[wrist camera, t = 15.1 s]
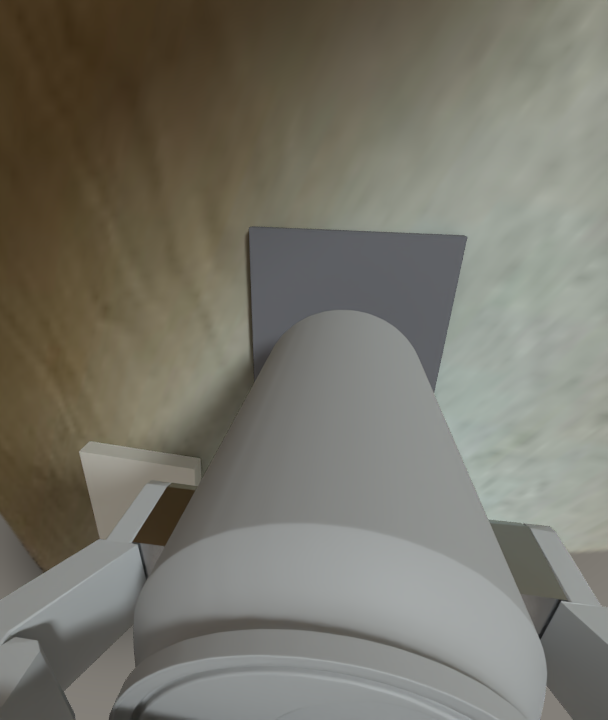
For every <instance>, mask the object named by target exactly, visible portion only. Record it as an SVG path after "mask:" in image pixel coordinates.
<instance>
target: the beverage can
mask: <svg viewBox="0 0 608 720" xmlns="http://www.w3.org/2000/svg"><path fill="white" fill-rule="evenodd" d="M133 635H134V636H133V638H134V655H135V669H134V670H133V671H132V672H131V673H130V674H129V676H128V677H127V679H126V681H125V682H124V684H123V686H122V689H121V691H120V693H119V695H118V697H117V699H116V701H115V703H114V706H113V708H112V710H111V713H110V716H109V720H540V718H541V714H542V709H543V704H544V698H545V692H546V683H547V667H546V659H545V654H544V650H543V647H542V644H541V641H540V639H539V636H538V634H537V632H536V629H535V627H534V625H533V622H532V620H531V618H530V615H529V613H528V611H527V608H526V606H525V604H524V601H523V599H522V597H521V594H520V592H519V590H518V587H517V585H516V583H515V580H514V578H513V576H512V574H511V571H510V569H509V567H508V564H507V562H506V560H505V557H504V555H503V553H502V550H501V548H500V546H499V543H498V541H497V539H496V536H495V534H494V532H493V529H492V527H491V525H490V522H489V520H488V518H487V515H486V513H485V511H484V508H483V506H482V504H481V502H480V499H479V497H478V495H477V492H476V490H475V488H474V485H473V483H472V481H471V478H470V476H469V474H468V471H467V469H466V467H465V464H464V462H463V460H462V457H461V455H460V453H459V450H458V448H457V446H456V443H455V441H454V439H453V436H452V434H451V432H450V430H449V427H448V425H447V423H446V420H445V418H444V416H443V413H442V411H441V409H440V406H439V404H438V402H437V399H436V397H435V395H434V392H433V390H432V388H431V385H430V383H429V381H428V378H427V376H426V374H425V371H424V369H423V367H422V365H421V362H420V360H419V358H418V355H417V353H416V351H415V349H414V348H413V346H412V345H411V343H410V342H409V341H408V340H407V338H406V337H405V336H404V335H403V334H402V333H401V332H400V331H399V330H398V329H397V328H395V327H394V326H393V325H391V324H389V323H388V322H386V321H385V320H383V319H381V318H378V317H376V316H373V315H371V314H368V313H364V312H360V311H354V310H332V311H325V312H321V313H318V314H314V315H311V316H309V317H307V318H305V319H303V320H301V321H299V322H298V323H296V324H295V325H293V326H292V327H291V328H290V329H289V330H287V331H286V332H285V333H284V334H283V335H282V336H281V338H280V339H279V340H278V341H277V343H276V344H275V346H274V347H273V349H272V351H271V353H270V355H269V357H268V358H267V360H266V362H265V364H264V366H263V368H262V369H261V371H260V373H259V375H258V377H257V379H256V380H255V382H254V384H253V386H252V388H251V390H250V391H249V393H248V395H247V397H246V399H245V401H244V402H243V404H242V406H241V408H240V410H239V412H238V413H237V415H236V417H235V419H234V421H233V423H232V424H231V426H230V428H229V430H228V432H227V434H226V435H225V437H224V439H223V441H222V443H221V445H220V446H219V448H218V450H217V452H216V454H215V456H214V457H213V459H212V461H211V463H210V465H209V467H208V468H207V470H206V472H205V474H204V476H203V478H202V479H201V481H200V483H199V485H198V487H197V489H196V490H195V492H194V494H193V496H192V498H191V500H190V501H189V503H188V505H187V507H186V509H185V511H184V512H183V514H182V516H181V518H180V520H179V522H178V523H177V525H176V527H175V529H174V531H173V533H172V534H171V536H170V538H169V540H168V542H167V544H166V545H165V547H164V549H163V551H162V553H161V555H160V556H159V558H158V560H157V562H156V564H155V566H154V567H153V569H152V571H151V573H150V575H149V577H148V578H147V580H146V582H145V584H144V586H143V588H142V589H141V591H140V594H139V597H138V599H137V602H136V607H135V612H134V628H133Z"/></svg>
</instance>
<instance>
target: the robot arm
mask: <svg viewBox="0 0 608 720" xmlns="http://www.w3.org/2000/svg"><path fill="white" fill-rule="evenodd" d="M197 487H198V486H193V485H186V484H179V483H169V482H162V481H155V480H151V481H150V482H148V483H147V484H146V485H145V486H144V487H143V489H142V490H141V491H140V493H139V494H138V496H137V497H136V498H135V500H134V501H133V502H132V504H131V505H130V507H129V508H128V509H127V511H126V512H125V514H124V515H123V516H122V518H121V519H120V521H119V522H118V523H117V525H116V526H115V528H114V529H113V530H112V532H111V533H110V535H109V536H108V537H107V539H106V540H104V539H98V540H97V541H95V542H93V543H92V544H90V545H89V546H87V547H85V548H84V549H82V550H80V551H79V552H77V553H75V554H74V555H72V556H71V557H69V558H67V559H66V560H64V561H62V562H61V563H59V564H58V565H56V566H54V567H53V568H51V569H49V570H48V571H46V572H44V573H43V574H41V575H40V576H38V577H36V578H35V579H33V580H31V581H30V582H28V583H27V584H25V585H23V586H22V587H20V588H18V589H17V590H15V591H13V592H12V593H10V594H9V595H7V596H5V597H4V598H2V599H1V600H0V720H76V719H75V713H74V711H73V709H72V707H71V705H70V704H69V702H68V700H67V697H66V695H65V693H64V691H65V690H66V689H67V688H68V687H69V686H70V685H71V684H72V683H73V682H74V681H75V680H76V679H77V678H78V677H79V676H80V675H81V674H82V673H83V672H84V671H85V670H86V669H87V668H88V667H89V666H90V665H92V663H94V662H95V661H96V660H97V659H98V658H99V657H100V656H101V655H102V654H103V653H104V652H105V651H106V650H107V649H108V648H109V647H110V646H111V645H112V644H113V643H114V642H115V641H116V640H117V639H119V637H121V636H122V635H123V634H124V633H125V632H126V631H127V630H128V629H129V628H130V627H131V626H132V625H133V624H134V612H135V607H136V602H137V599H138V597H139V594H140V591H141V589H142V588H143V586H144V584H145V582H146V580H147V578H148V577H149V575H150V573H151V571H152V569H153V567H154V566H155V564H156V562H157V560H158V558H159V556H160V555H161V553H162V551H163V549H164V547H165V545H166V544H167V542H168V540H169V538H170V536H171V534H172V533H173V531H174V529H175V527H176V525H177V523H178V522H179V520H180V518H181V516H182V514H183V512H184V511H185V509H186V507H187V505H188V503H189V501H190V500H191V498H192V496H193V494H194V492H195V490H196V489H197ZM489 522H490V525H491V527H492V529H493V532H494V534H495V536H496V539H497V541H498V543H499V546H500V548H501V550H502V553H503V555H504V557H505V560H506V562H507V564H508V567H509V569H510V571H511V574H512V576H513V578H514V580H515V583H516V585H517V587H518V590H519V592H520V594H521V597H522V599H523V601H524V604H525V606H526V608H527V611H528V613H529V615H530V618H531V620H532V622H533V625H534V627H535V629H536V632H537V634H538V636H539V639H540V641H541V644H542V647H543V650H544V654H545V659H546V667H547V683H546V686H547V687H548V688H549V689H550V691H551V692H552V693H553V694H554V696H555V697H556V698H557V700H558V701H559V702H560V703H561V705H562V706H563V707H564V708H565V710H566V711H567V712H568V714H569V715H570V716H571V717H572V719H573V720H608V607H603V606H601V604H600V603H599V601H598V600H597V598H596V596H595V595H594V593H593V591H592V590H591V588H590V587H589V585H588V584H587V582H586V580H585V578H584V577H583V575H582V573H581V572H580V570H579V569H578V567H577V565H576V564H575V562H574V560H573V559H572V557H571V556H570V554H569V552H568V551H567V549H566V547H565V546H564V544H563V543H562V541H561V539H560V538H559V536H558V534H557V533H556V531H555V530H554V529H552V528H551V527H550V526H543V525H534V524H522V523H516V522H507V521H497V520H489Z"/></svg>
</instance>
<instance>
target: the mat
mask: <svg viewBox="0 0 608 720" xmlns="http://www.w3.org/2000/svg"><path fill="white" fill-rule="evenodd" d="M466 241H467V237H466V236H464V235H442V234H419V233H395V232H371V231H348V230H324V229H300V228H277V227H253V226H252V227H249V242H250V271H251V299H252V328H253V356H254V382H255V380H256V379H257V377H258V375H259V373H260V371H261V369H262V368H263V366H264V364H265V362H266V360H267V358H268V357H269V355H270V353H271V351H272V349H273V347H274V346H275V344H276V343H277V341H278V340H279V339H280V338H281V336H282V335H283V334H284V333H285V332H286V331H287V330H289V329H290V328H291V327H292V326H293V325H295V324H296V323H298V322H299V321H301V320H303V319H305V318H307V317H309V316H311V315H314V314H318V313H321V312H325V311H332V310H354V311H360V312H364V313H368V314H371V315H373V316H376V317H378V318H381V319H383V320H385V321H386V322H388V323H389V324H391V325H393V326H394V327H395V328H397V329H398V330H399V331H400V332H401V333H402V334H403V335H404V336H405V337H406V338H407V340H408V341H409V342H410V343H411V345H412V346H413V348H414V349H415V351H416V353H417V355H418V358H419V360H420V362H421V365H422V367H423V369H424V371H425V374H426V376H427V378H428V381H429V383H430V385H431V388H432V390H433V392H434V391H435V386H436V381H437V377H438V372H439V367H440V363H441V358H442V353H443V349H444V344H445V339H446V335H447V330H448V325H449V320H450V316H451V311H452V306H453V302H454V297H455V292H456V288H457V283H458V278H459V274H460V269H461V264H462V260H463V255H464V250H465V246H466Z"/></svg>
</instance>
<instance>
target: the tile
mask: <svg viewBox="0 0 608 720" xmlns="http://www.w3.org/2000/svg"><path fill="white" fill-rule="evenodd" d="M79 454H80V458H81V462H82V466H83V470H84V475H85V479H86V483H87V487H88V491H89V496H90V500H91V504H92V508H93V512H94V517H95V521H96V525H97V529H98V533H99V537H100V539H104V540H106V539H107V537H108V536H109V535H110V533H111V532H112V530H113V529H114V528H115V526H116V525H117V523H118V522H119V521H120V519H121V518H122V516H123V515H124V514H125V512H126V511H127V509H128V508H129V507H130V505H131V504H132V502H133V501H134V500H135V498H136V497H137V496H138V494H139V493H140V491H141V490H142V489H143V487H144V486H145V485H146V484H147V483H148V482H150V481H151V480H155V481H162V482H169V483H179V484H186V485H193V486H198V485H199V483H200V481H201V459H200V458H195V457H189V456H182V455H176V454H169V453H163V452H156V451H150V450H143V449H137V448H130V447H124V446H118V445H111V444H105V443H98V442H92V441H89V442H88V443H87V444H86V445H85V446H84V447H83V448H82V449H81V450H80V451H79Z"/></svg>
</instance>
